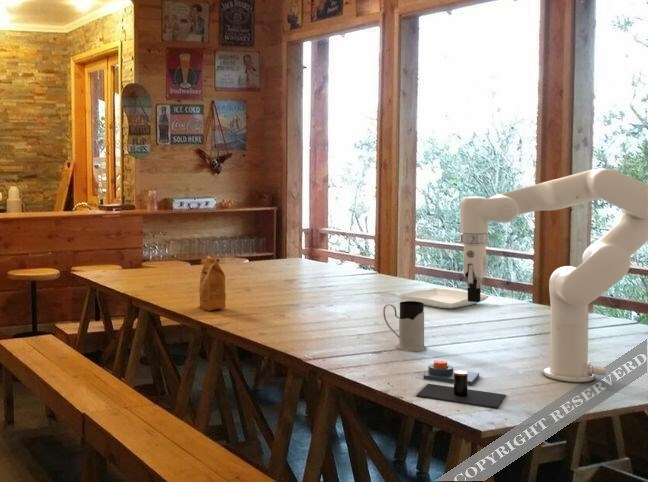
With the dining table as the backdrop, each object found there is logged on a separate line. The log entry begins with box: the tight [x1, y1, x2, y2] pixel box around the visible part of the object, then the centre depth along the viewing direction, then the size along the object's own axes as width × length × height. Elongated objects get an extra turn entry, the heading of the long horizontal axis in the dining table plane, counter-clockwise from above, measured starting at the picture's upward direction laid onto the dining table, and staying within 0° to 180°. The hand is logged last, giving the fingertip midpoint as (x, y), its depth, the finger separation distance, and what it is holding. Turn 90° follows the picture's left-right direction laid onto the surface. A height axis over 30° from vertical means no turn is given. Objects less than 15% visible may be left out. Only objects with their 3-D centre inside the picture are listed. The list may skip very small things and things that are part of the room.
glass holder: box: [382, 300, 427, 352], centre depth 263 cm, size 9×14×15 cm, turn 48°
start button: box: [433, 359, 448, 369], centre depth 228 cm, size 4×4×2 cm
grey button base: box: [423, 363, 480, 387], centre depth 226 cm, size 13×10×3 cm
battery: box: [453, 370, 469, 397], centre depth 210 cm, size 3×3×6 cm
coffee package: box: [198, 255, 227, 312], centre depth 334 cm, size 10×12×22 cm
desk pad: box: [416, 383, 507, 410], centre depth 210 cm, size 20×12×1 cm, turn 56°
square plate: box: [396, 287, 490, 309], centre depth 336 cm, size 27×27×4 cm
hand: (474, 301), depth 231 cm, fingers closed
